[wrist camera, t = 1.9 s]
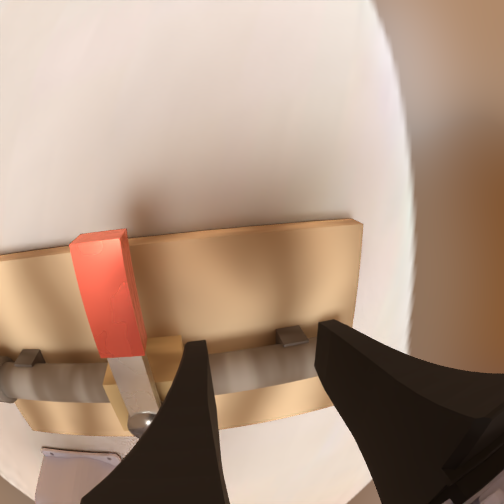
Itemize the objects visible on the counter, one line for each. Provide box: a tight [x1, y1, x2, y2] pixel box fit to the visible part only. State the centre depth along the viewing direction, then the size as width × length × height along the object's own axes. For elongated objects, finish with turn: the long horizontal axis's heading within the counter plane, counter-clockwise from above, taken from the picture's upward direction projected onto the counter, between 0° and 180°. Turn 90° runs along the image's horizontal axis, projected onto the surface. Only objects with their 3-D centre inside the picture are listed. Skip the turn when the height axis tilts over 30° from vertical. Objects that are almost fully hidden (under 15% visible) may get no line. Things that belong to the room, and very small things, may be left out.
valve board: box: [0, 219, 363, 436], centre depth 17 cm, size 28×16×6 cm, turn 92°
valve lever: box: [69, 229, 163, 438], centre depth 12 cm, size 11×2×1 cm, turn 2°
